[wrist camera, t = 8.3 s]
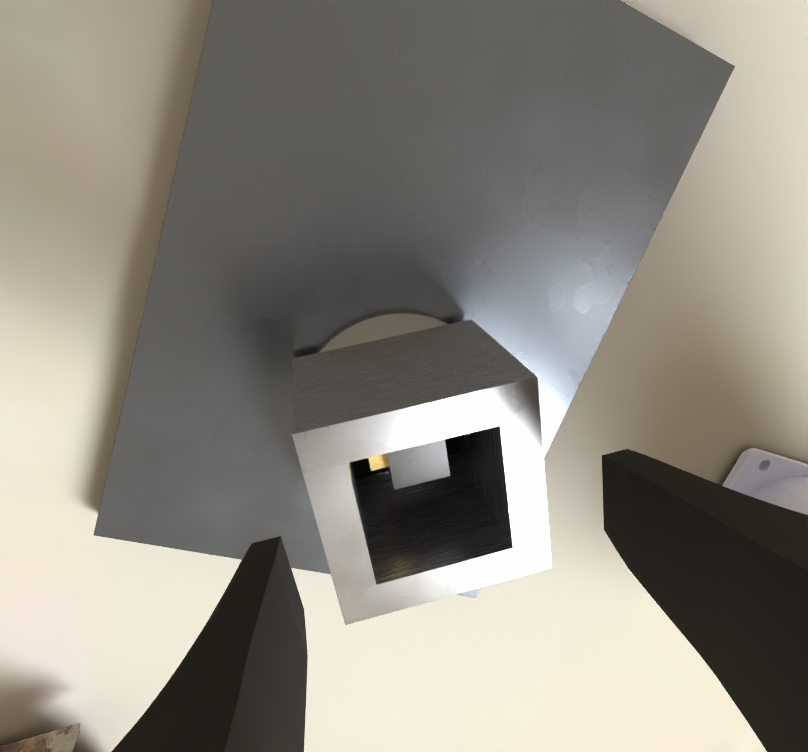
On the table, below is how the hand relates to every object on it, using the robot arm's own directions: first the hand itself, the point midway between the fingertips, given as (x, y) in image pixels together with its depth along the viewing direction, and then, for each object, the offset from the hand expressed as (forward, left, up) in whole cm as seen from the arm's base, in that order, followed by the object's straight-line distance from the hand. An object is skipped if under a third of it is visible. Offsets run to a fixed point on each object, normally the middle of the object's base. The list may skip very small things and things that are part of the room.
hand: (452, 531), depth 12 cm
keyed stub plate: (+1, -3, -8) cm, 8 cm away
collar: (0, 0, -6) cm, 6 cm away
